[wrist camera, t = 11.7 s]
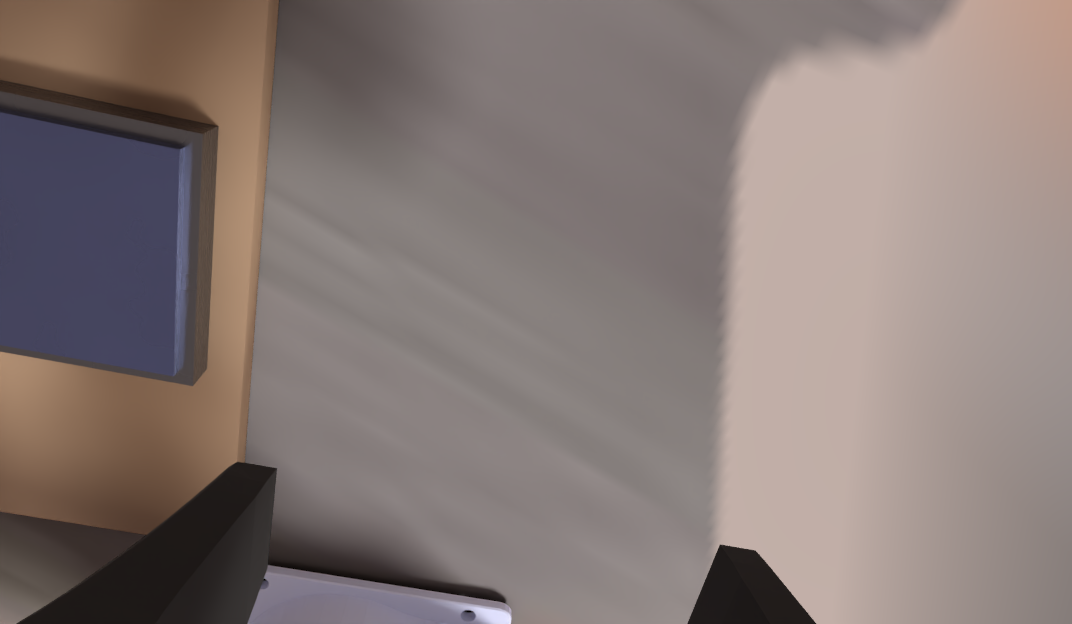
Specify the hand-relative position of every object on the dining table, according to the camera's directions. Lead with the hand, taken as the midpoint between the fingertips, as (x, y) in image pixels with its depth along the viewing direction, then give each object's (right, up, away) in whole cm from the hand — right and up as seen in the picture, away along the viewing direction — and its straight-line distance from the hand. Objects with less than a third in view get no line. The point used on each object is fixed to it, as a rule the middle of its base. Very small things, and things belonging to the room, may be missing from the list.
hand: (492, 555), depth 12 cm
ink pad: (-11, +6, +8) cm, 15 cm away
